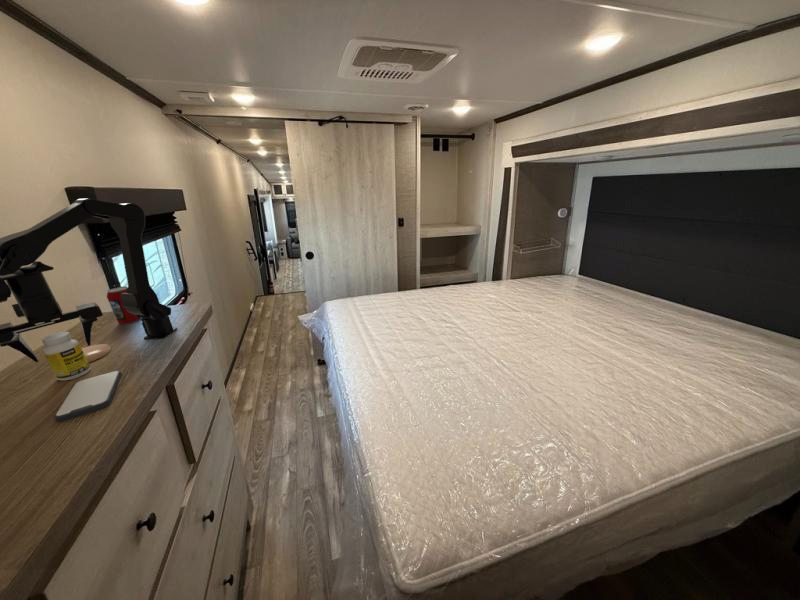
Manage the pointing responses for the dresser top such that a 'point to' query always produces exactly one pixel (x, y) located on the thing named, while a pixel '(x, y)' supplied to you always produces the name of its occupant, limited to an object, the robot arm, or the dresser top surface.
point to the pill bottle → (65, 356)
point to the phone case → (88, 396)
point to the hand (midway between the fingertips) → (64, 353)
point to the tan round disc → (96, 351)
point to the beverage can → (120, 306)
